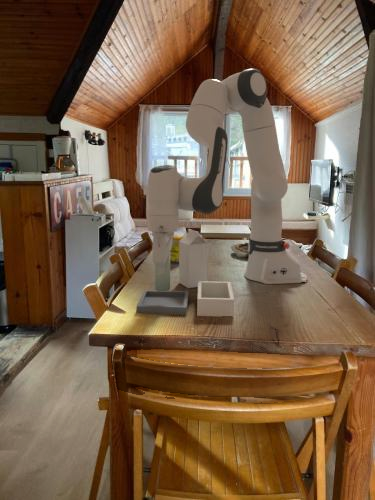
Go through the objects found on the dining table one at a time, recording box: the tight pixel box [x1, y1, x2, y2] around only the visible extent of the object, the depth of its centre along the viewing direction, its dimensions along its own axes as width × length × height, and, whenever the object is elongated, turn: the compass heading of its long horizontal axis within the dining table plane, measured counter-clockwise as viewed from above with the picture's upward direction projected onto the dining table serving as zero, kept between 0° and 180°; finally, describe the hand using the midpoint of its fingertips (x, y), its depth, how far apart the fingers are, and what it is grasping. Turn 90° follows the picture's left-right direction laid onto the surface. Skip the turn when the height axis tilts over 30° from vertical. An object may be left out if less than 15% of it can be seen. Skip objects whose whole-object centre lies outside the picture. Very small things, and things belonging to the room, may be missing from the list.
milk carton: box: [178, 228, 208, 289], centre depth 134 cm, size 7×7×19 cm
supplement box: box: [170, 234, 185, 265], centre depth 165 cm, size 6×6×11 cm
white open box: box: [196, 280, 235, 317], centre depth 116 cm, size 10×16×5 cm, turn 178°
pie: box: [230, 242, 249, 260], centre depth 179 cm, size 28×27×5 cm
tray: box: [136, 289, 189, 315], centre depth 116 cm, size 14×14×2 cm
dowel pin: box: [154, 249, 171, 291], centre depth 114 cm, size 4×4×12 cm
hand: (162, 270), depth 114 cm, fingers closed on dowel pin, 4 cm apart
